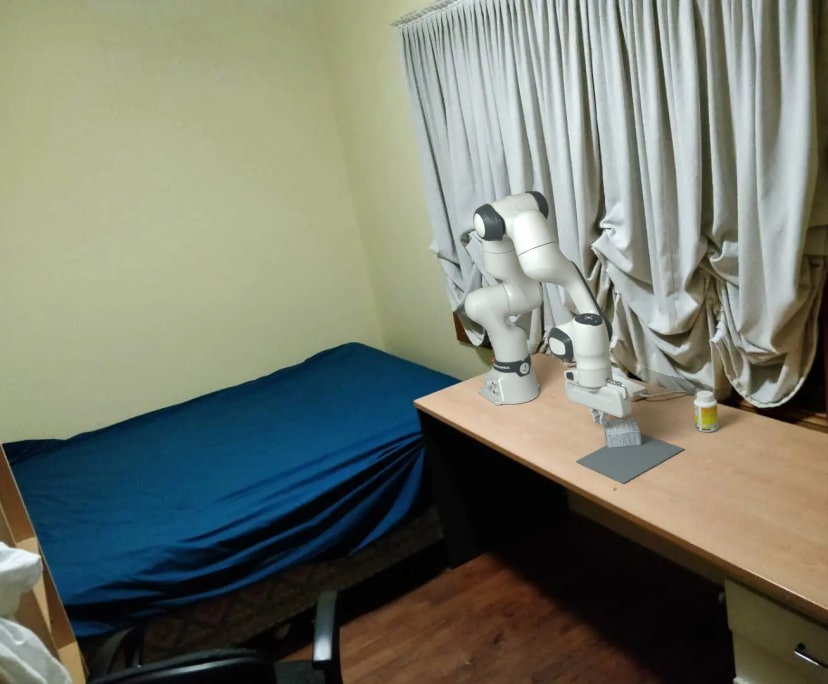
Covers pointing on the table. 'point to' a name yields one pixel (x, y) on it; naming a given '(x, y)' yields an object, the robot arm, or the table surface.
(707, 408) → the supplement bottle
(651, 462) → the mat
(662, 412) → the table surface
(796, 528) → the table surface
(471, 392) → the table surface
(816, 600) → the table surface
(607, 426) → the medicine box
